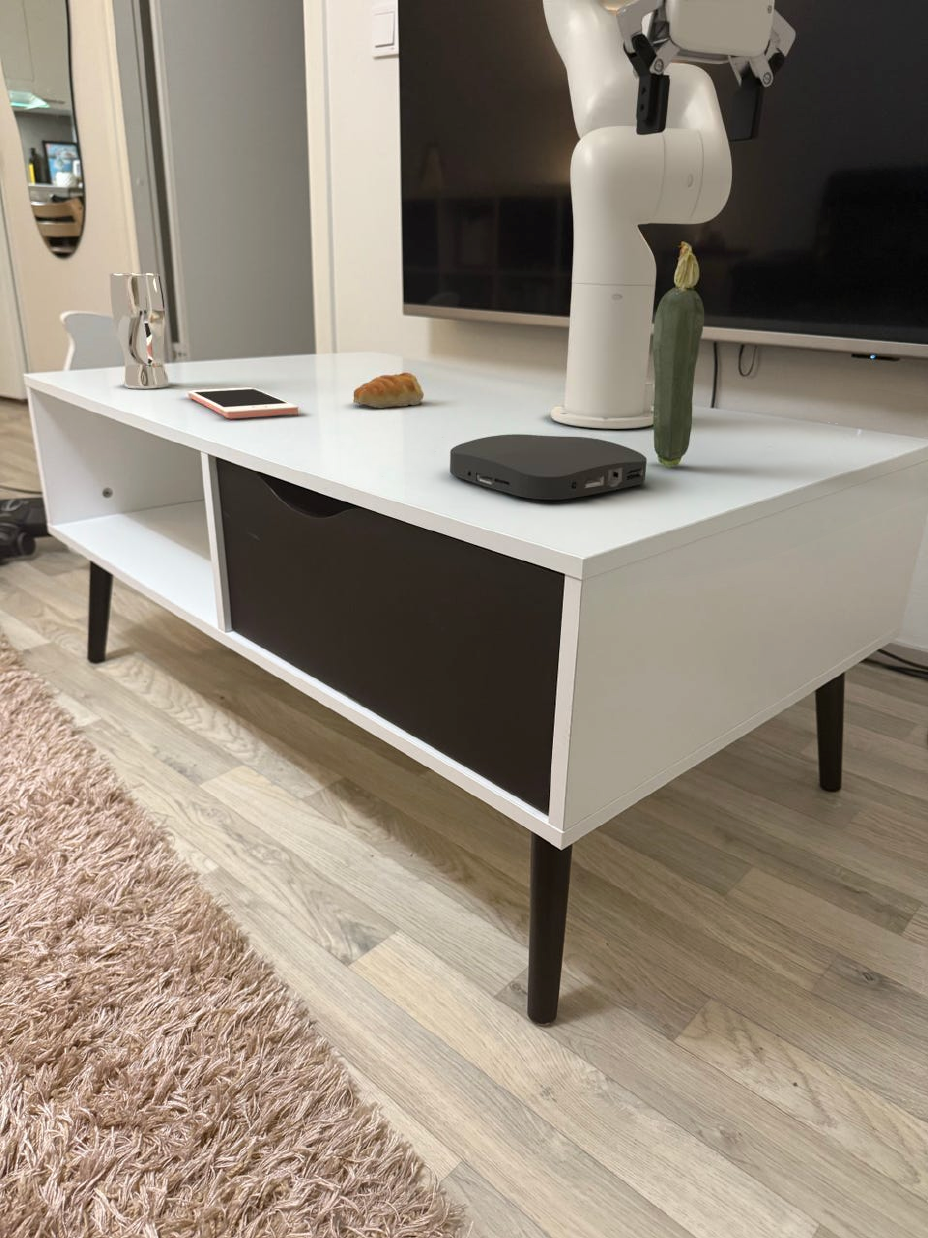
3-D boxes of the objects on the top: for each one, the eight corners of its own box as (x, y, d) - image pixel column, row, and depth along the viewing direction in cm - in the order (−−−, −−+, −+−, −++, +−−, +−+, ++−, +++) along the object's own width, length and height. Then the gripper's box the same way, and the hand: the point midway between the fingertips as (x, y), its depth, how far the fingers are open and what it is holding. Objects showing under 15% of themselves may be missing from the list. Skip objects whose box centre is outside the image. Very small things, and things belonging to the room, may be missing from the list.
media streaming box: (549, 455, 91) (550, 425, 89) (663, 484, 80) (666, 450, 79) (432, 473, 82) (432, 440, 81) (542, 509, 71) (544, 471, 70)
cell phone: (227, 419, 105) (226, 410, 104) (187, 397, 119) (186, 390, 119) (299, 414, 109) (299, 406, 109) (252, 393, 123) (252, 386, 123)
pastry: (376, 411, 113) (376, 380, 111) (340, 405, 117) (339, 375, 115) (427, 403, 119) (427, 373, 118) (391, 398, 123) (391, 369, 122)
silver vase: (111, 388, 126) (97, 273, 121) (136, 381, 133) (124, 272, 127) (158, 390, 125) (146, 274, 120) (181, 383, 132) (170, 273, 126)
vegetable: (687, 474, 84) (714, 241, 76) (640, 471, 85) (661, 240, 77) (686, 464, 88) (711, 241, 80) (641, 461, 89) (662, 241, 81)
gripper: (775, -83, 76) (746, 146, 83) (603, -119, 69) (586, 134, 76) (845, -110, 70) (807, 140, 77) (663, -153, 63) (638, 126, 70)
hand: (697, 137), depth 76 cm, fingers open, 9 cm apart
